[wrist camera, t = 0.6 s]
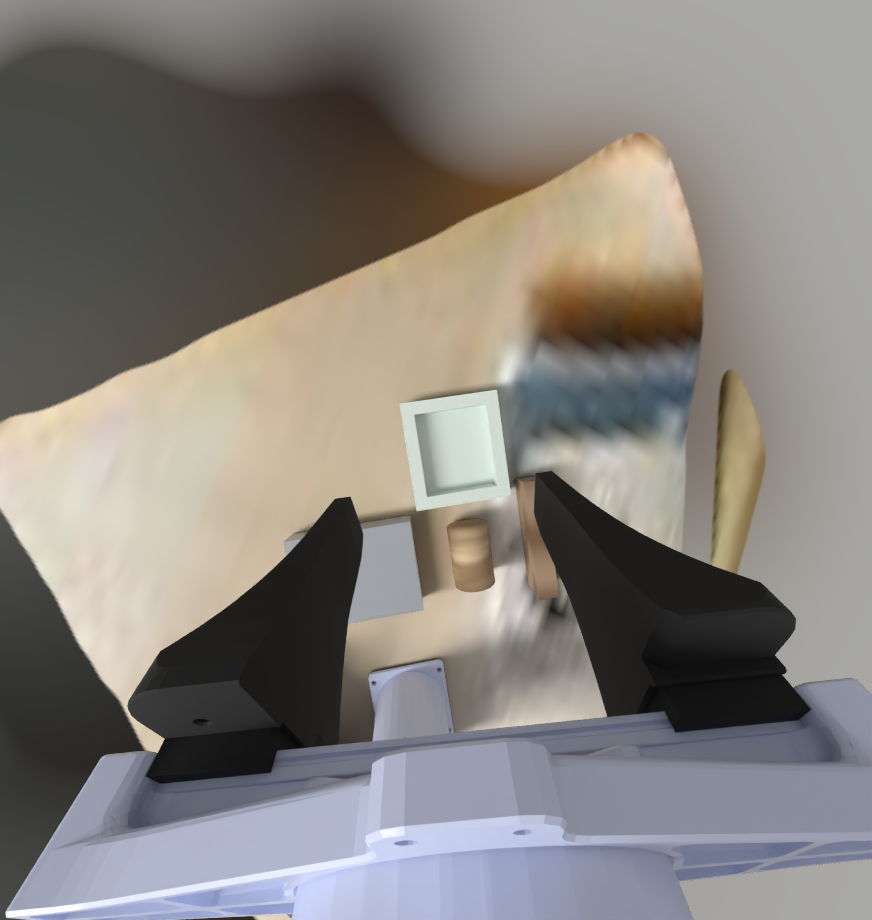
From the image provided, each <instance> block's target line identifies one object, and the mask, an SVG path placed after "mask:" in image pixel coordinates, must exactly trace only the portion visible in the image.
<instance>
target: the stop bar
mask: <svg viewBox="0 0 872 920" xmlns="http://www.w3.org/2000/svg"><path fill="white" fill-rule="evenodd" d="M515 485H516V492H517V500H518V508H519V515H520V523H521V530H522V538H523V546H524V553H525V561H526V568H527V576H528V584H529V587H530V589H531V590H532V591H533V592H534V594H535V595H536V596H537V598H538V599H539V600H543V599H549V598H554V597H559V593H558V585H557V577H556V569H555V565H554V563H553V561H552V559H551V557H550V554H549V552H548V550H547V548H546V546H545V544H544V542H543V539H542V537H541V534H540V531H539V528H538V525H537V522H536V519H535V516H534V496H535V476H533V475H532V476H526V477H520V478H515Z"/></svg>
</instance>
